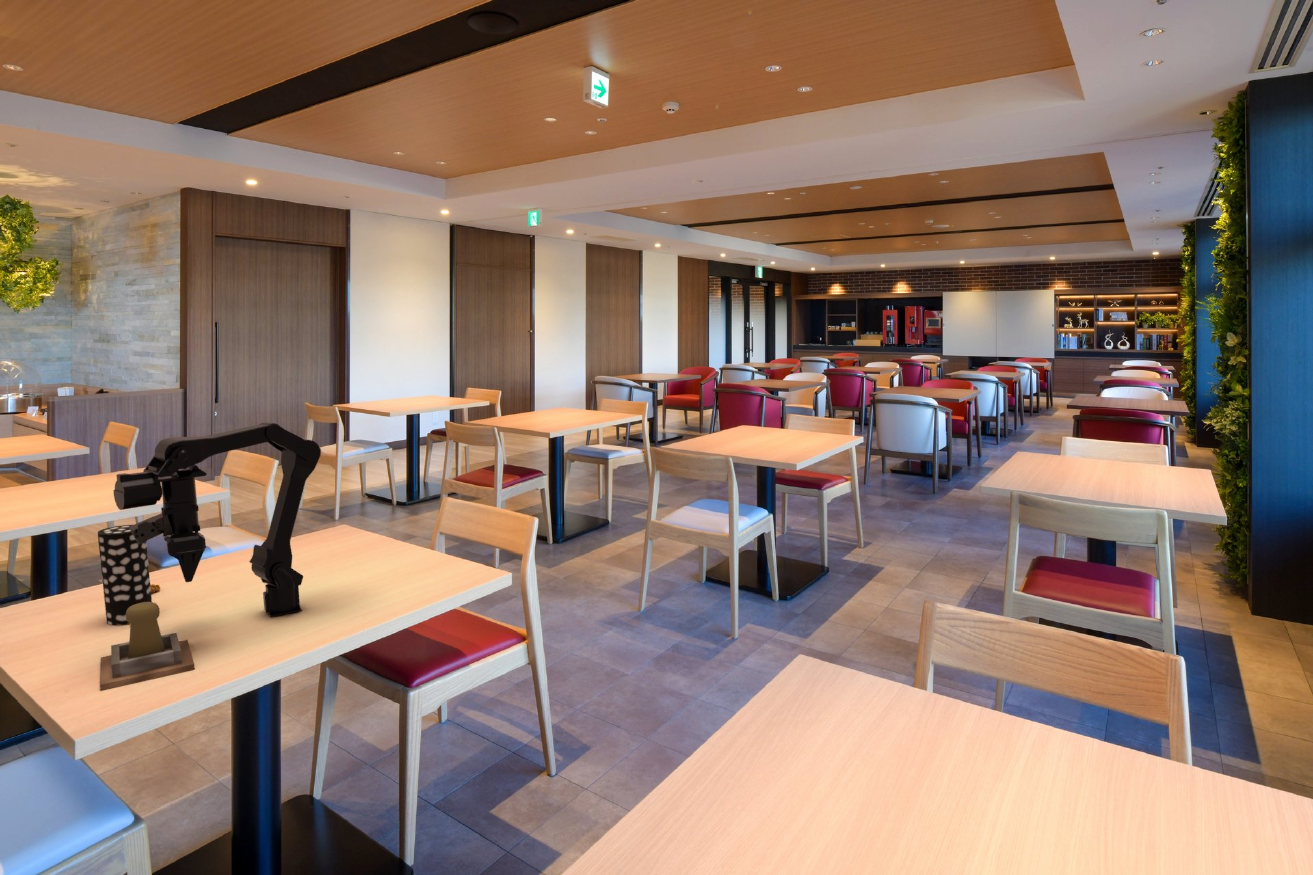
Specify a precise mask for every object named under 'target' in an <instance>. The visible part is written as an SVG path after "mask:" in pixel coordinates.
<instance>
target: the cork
mask: <svg viewBox="0 0 1313 875" xmlns="http://www.w3.org/2000/svg"><path fill="white" fill-rule="evenodd" d="M160 613H161V611H160V607H159V605H158V604H157V602H153V601H152V602H143V603H138V604H135V605H132V606H130V607H129V608H128V609H127V611H126V619H127V621H128V622H129V623H130V624H129V625H130V627H129V628H130V629H129V641H128V642H129V656H128V659H131V658H136V657H141V656H146V655H150V654H155V653H160V652H165V648H164V644H163V641H162V637H161V636H162V634H161V630H160V626H159V622H158V618H159V617H160Z"/></svg>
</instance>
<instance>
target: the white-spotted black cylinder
mask: <svg viewBox="0 0 1313 875" xmlns="http://www.w3.org/2000/svg"><path fill="white" fill-rule="evenodd" d="M132 525H133V524H122V525H115V526H110V527H105V528H102V529H100V530H98V531H97V540H98V549H99V562H100V570H101V578H102V579H101V581H102V589H103V599H104V608H105V618H106V623H107V624H108V625H110V626H126V625H130V623H129V622H128V621H127V619H126V611H127V609H128V608H129V607H130V606H132V605H135V604H138V603H143V602H153V600H152V599H153V598H152V592H151V587H150V584H151V579H150V578H151V577H150V569H149V568H150V567H149V566H150V565H149V558H148V546H147V542H145V543H142V544H138V543H137V541H136V539H135V538H134V536H133V534H132V532H131V531H130V527H131V526H132Z"/></svg>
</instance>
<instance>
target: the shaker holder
mask: <svg viewBox="0 0 1313 875" xmlns="http://www.w3.org/2000/svg"><path fill="white" fill-rule="evenodd" d="M161 637H162V641H163V644H164V648H165V652H160V653H155V654H150V655H146V656H141V657H136V658H131V659H128V656H129V641H127V642H123V643H117V644H112V645H111V646H110V647H111V648H110V652H111V653H110V655H105V656H104V655H103V656H101V657H100V665H99V666H100V668H99V670H100V671H99V675H100V676H99V687H100V688H99V689H100V691H103V690H104V691H105V690H108V688H109V689H113V688H114V689H115V688H117V687H121V686H126V685H130V684H135V683H140V682H144V681H148V680H153V679H157V678H161V677H166V676H170V675H175V674H179V673H180V674H181V673H183V672H188V671H193V670H195V667H196V666H195V663H194V658H193V654H192V651H191V647H190V643H189V640H188V639H183V640H179V637H178V632H172V633H168V634H163V635H162V634H161Z"/></svg>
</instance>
